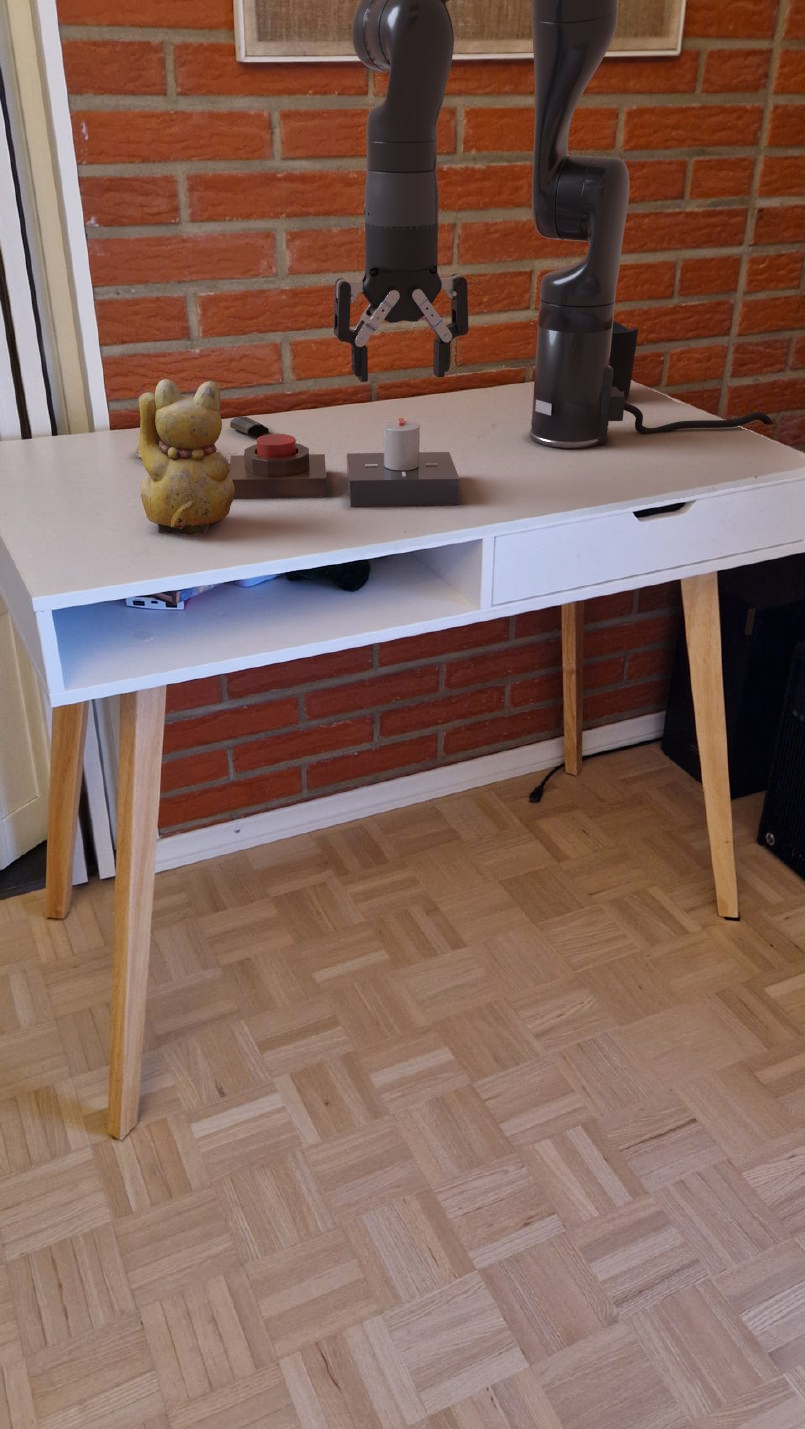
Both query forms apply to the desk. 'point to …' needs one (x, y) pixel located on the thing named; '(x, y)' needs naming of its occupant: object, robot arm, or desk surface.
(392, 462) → the knob
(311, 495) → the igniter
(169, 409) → the decorative figurine
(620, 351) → the dark upright prism
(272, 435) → the button
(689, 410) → the desk surface
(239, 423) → the block
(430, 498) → the panel
